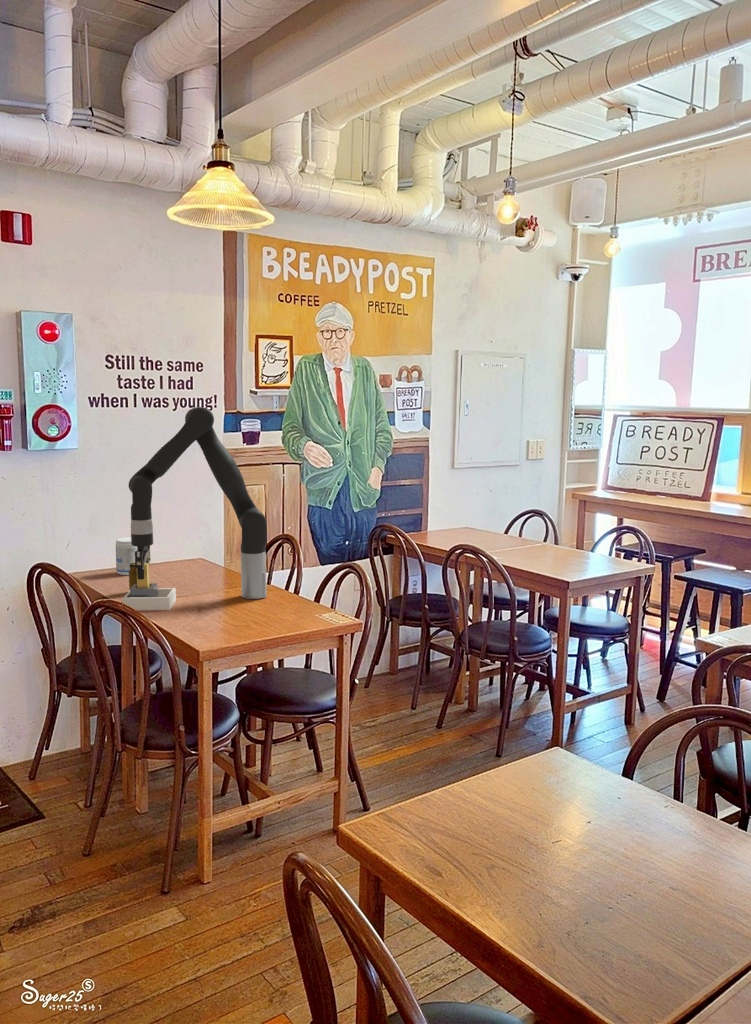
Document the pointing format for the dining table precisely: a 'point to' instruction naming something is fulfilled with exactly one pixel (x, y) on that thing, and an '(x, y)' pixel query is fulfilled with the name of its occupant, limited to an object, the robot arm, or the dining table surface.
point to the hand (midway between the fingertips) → (143, 576)
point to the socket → (144, 591)
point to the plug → (145, 581)
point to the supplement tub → (124, 555)
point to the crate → (152, 600)
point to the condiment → (132, 575)
